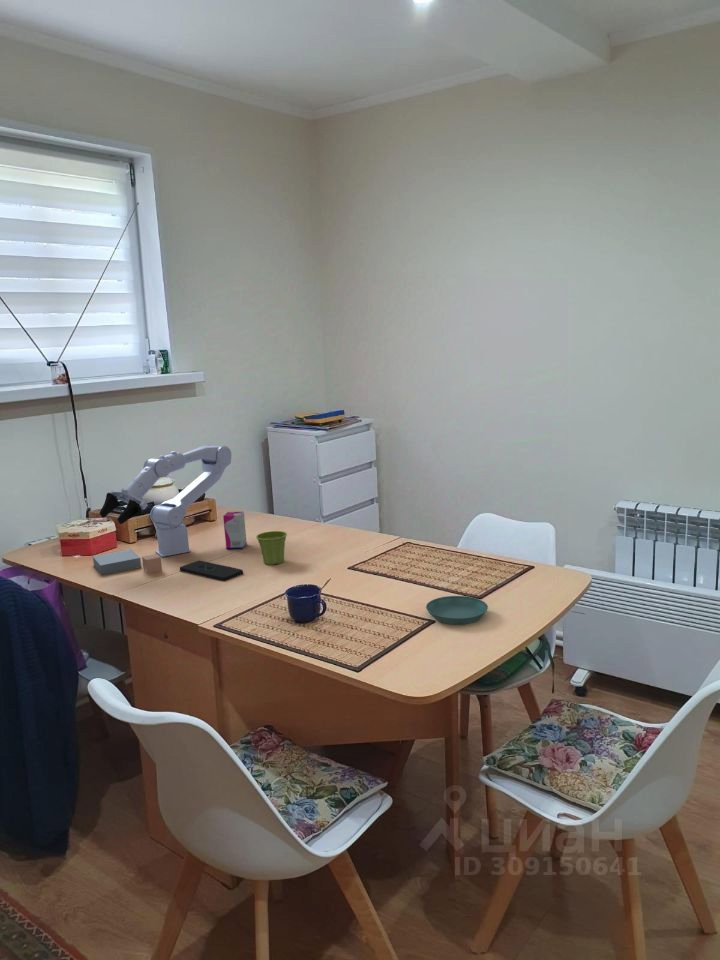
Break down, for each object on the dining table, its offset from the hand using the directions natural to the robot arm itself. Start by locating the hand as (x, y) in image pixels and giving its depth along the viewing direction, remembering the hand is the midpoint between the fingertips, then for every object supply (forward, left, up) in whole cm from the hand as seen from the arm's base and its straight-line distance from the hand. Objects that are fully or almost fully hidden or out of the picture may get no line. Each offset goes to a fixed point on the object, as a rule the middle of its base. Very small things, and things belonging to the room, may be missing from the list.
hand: (110, 518), depth 229 cm
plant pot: (-42, +24, -17) cm, 51 cm away
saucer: (-60, +93, -17) cm, 112 cm away
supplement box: (-39, 0, -17) cm, 43 cm away
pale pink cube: (-9, +8, -16) cm, 20 cm away
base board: (-1, -4, -16) cm, 17 cm away
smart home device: (-23, +21, -17) cm, 36 cm away
